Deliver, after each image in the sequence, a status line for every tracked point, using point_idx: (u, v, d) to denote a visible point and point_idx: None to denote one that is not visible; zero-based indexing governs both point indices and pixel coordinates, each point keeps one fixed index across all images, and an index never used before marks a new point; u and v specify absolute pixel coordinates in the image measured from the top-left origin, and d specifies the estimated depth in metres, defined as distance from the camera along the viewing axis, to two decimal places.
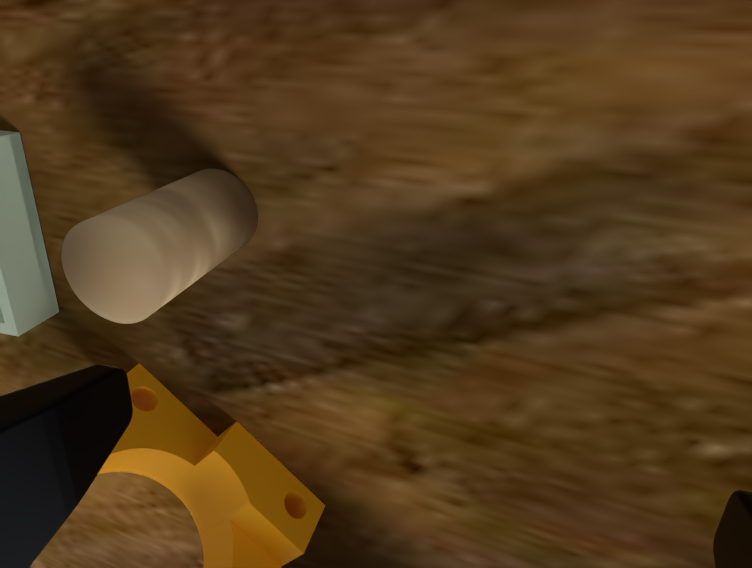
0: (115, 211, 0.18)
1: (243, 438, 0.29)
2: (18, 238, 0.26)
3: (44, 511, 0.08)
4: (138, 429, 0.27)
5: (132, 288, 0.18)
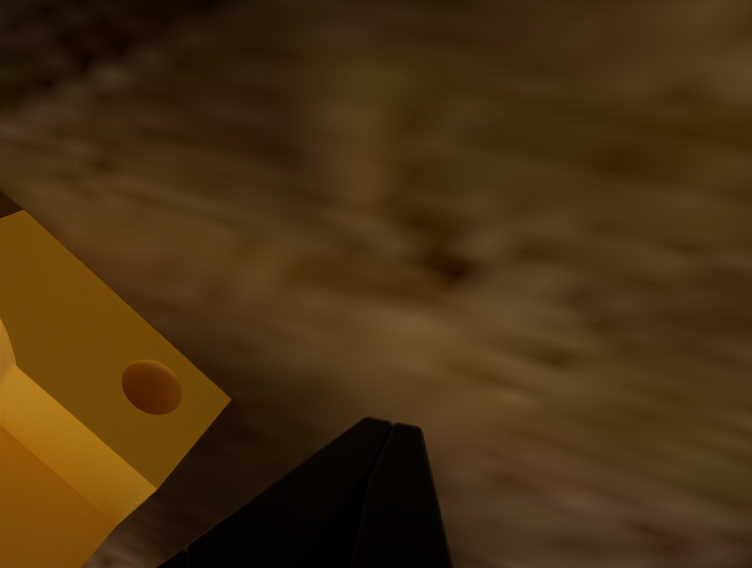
0: None
1: (36, 242, 0.13)
2: None
3: None
4: None
5: None
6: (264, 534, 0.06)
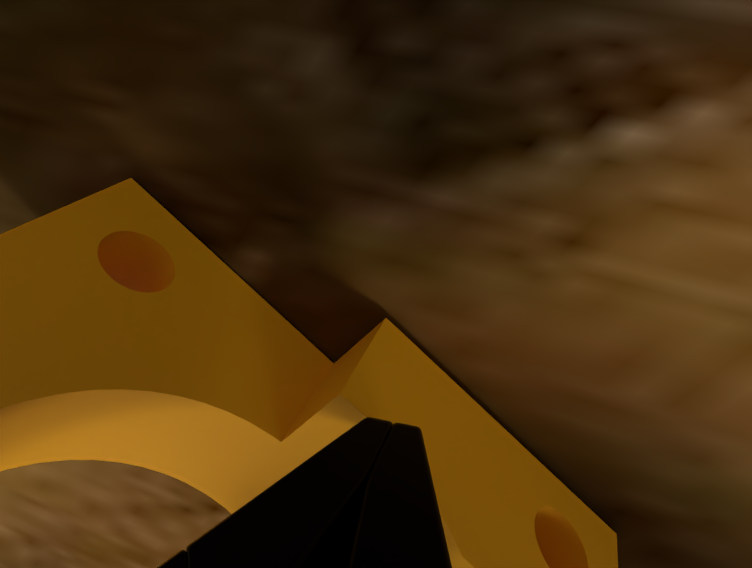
0: None
1: (408, 366, 0.11)
2: None
3: None
4: (116, 336, 0.09)
5: None
6: (265, 534, 0.06)
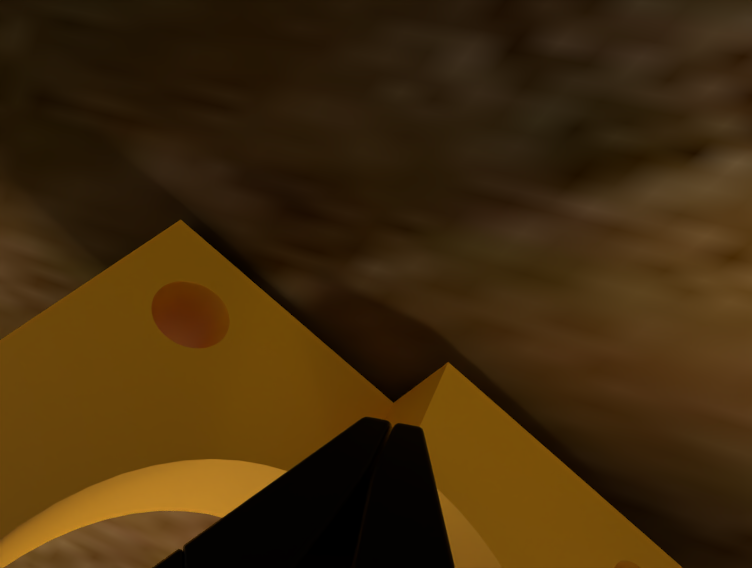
0: None
1: (473, 416, 0.10)
2: None
3: None
4: (174, 402, 0.09)
5: None
6: (262, 534, 0.06)
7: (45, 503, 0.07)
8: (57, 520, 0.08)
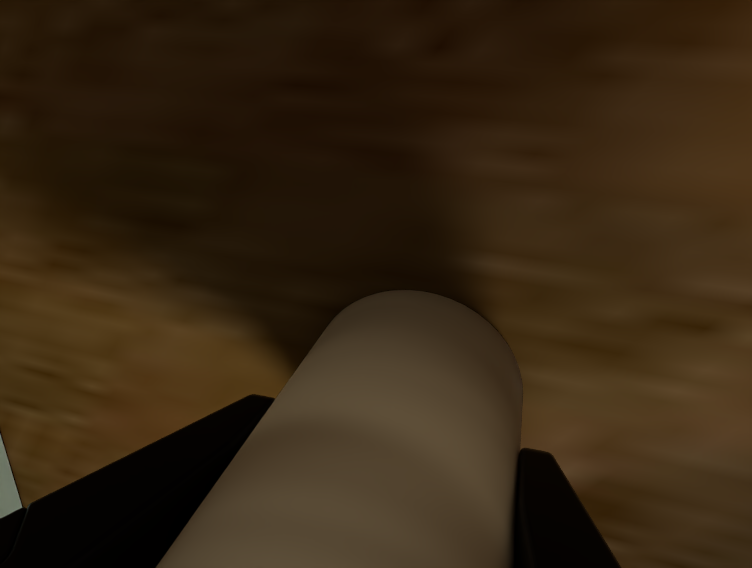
0: None
1: None
2: None
3: None
4: None
5: None
6: (108, 494, 0.06)
7: None
8: None
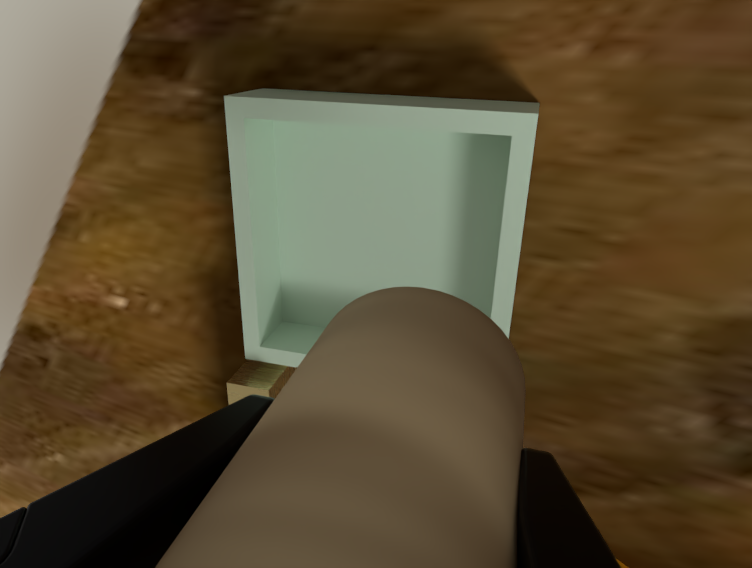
0: None
1: None
2: None
3: None
4: None
5: None
6: (108, 494, 0.06)
7: None
8: None
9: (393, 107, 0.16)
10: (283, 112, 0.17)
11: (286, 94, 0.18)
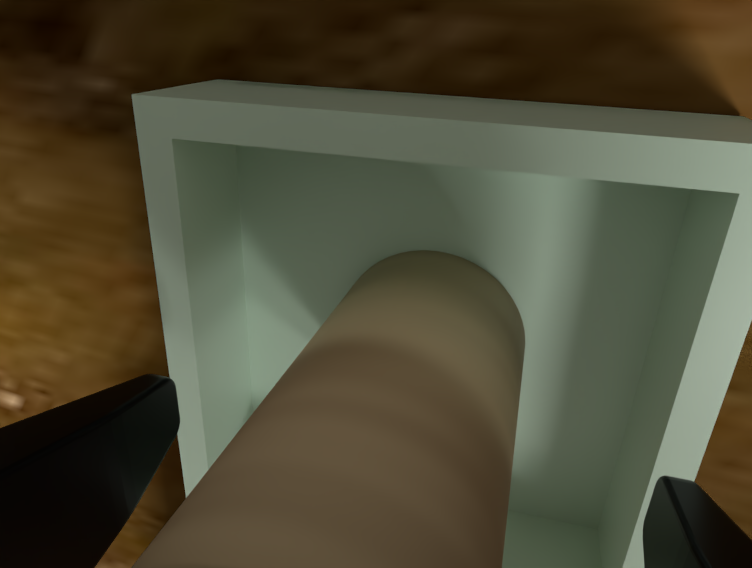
0: (294, 490, 0.05)
1: None
2: None
3: (99, 526, 0.08)
4: None
5: None
6: None
7: None
8: None
9: (478, 126, 0.07)
10: (248, 129, 0.08)
11: (257, 92, 0.09)
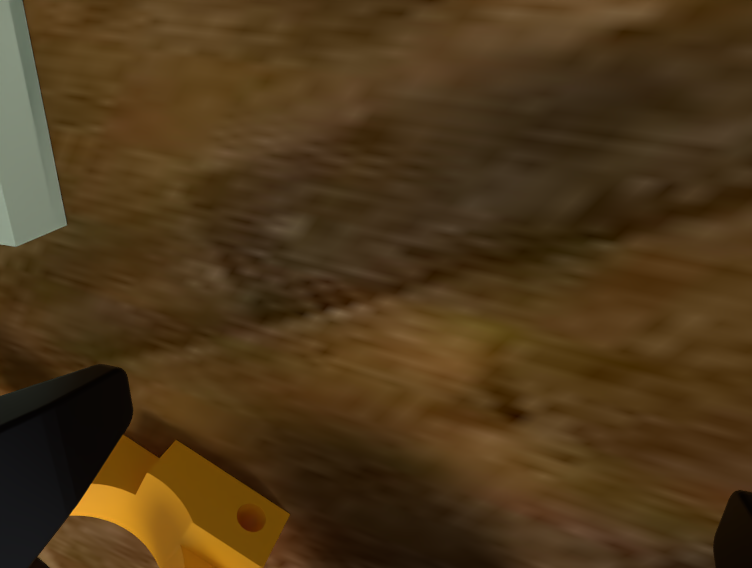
0: None
1: (185, 456, 0.27)
2: (16, 118, 0.21)
3: (44, 511, 0.08)
4: None
5: None
6: None
7: None
8: None
9: None
10: None
11: None
